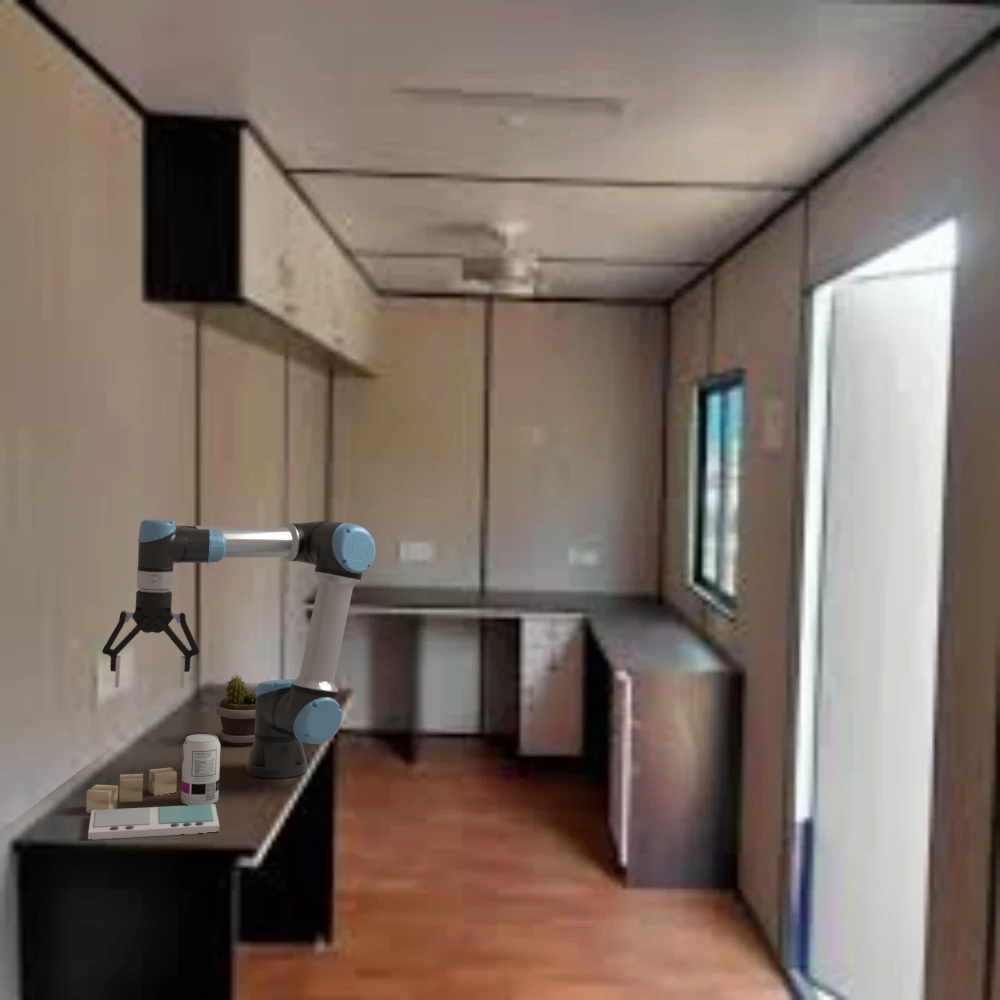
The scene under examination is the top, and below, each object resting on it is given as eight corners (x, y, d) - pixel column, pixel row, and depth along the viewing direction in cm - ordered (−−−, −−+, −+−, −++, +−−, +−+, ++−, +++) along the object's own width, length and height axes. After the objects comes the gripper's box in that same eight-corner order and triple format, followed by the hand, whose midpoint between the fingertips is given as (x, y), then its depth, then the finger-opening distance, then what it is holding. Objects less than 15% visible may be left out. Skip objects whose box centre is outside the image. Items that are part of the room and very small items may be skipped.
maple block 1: (95, 806, 250) (96, 784, 250) (117, 807, 249) (118, 785, 249) (86, 813, 245) (86, 791, 245) (108, 814, 244) (109, 792, 244)
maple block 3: (148, 790, 263) (149, 769, 263) (170, 788, 266) (170, 767, 266) (154, 796, 259) (155, 775, 259) (176, 793, 262) (177, 772, 262)
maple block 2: (119, 796, 258) (120, 774, 258) (142, 795, 260) (143, 773, 260) (119, 802, 253) (119, 780, 253) (142, 801, 255) (143, 779, 255)
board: (91, 817, 242) (91, 808, 242) (214, 810, 250) (215, 802, 250) (88, 839, 228) (88, 831, 228) (219, 832, 236) (219, 824, 236)
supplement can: (173, 805, 253) (176, 739, 252) (194, 795, 260) (196, 731, 260) (205, 810, 250) (207, 743, 250) (224, 800, 258) (227, 735, 258)
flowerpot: (246, 733, 322) (248, 664, 321) (280, 743, 312) (283, 672, 311) (204, 741, 310) (206, 669, 310) (238, 752, 301) (241, 678, 300)
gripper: (92, 590, 238) (87, 689, 239) (213, 593, 245) (208, 689, 245) (95, 586, 246) (90, 682, 246) (212, 589, 252) (207, 683, 253)
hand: (149, 686), depth 246 cm, fingers open, 13 cm apart
